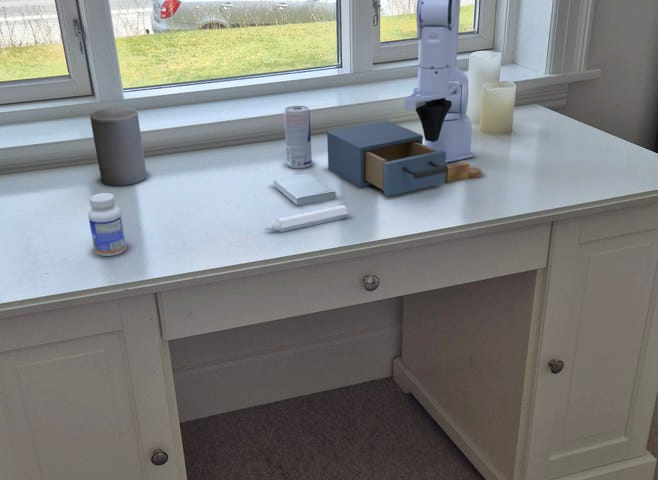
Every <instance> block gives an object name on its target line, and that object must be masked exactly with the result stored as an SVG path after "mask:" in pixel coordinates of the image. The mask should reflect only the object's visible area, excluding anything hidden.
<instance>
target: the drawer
mask: <svg viewBox="0 0 658 480" xmlns="http://www.w3.org/2000/svg"><path fill="white" fill-rule="evenodd" d="M447 165H448V164H447V163H446V151H443V150H441V151H436V150H434V149H432V148H430V147H428V146H425V144H421V143H418V142H416V141H412V142H407V143H402V144H397V145H392V146H387V147H382V148H377V149H372V150H367V151H364V180H366V181H368V182H369V183H371V184H373V185H372V186H374V187H377V188H378V189H380V190H383V195H384V196H386V197H389V196H393V195H398V194H402V193H406V192H411V191H415V190H420V189H424V188H429V187H433V186H437V185H442V184H445V183H446V182H445V173H446V172H448V167H447Z"/></svg>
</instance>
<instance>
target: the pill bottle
mask: <svg viewBox="0 0 658 480" xmlns="http://www.w3.org/2000/svg"><path fill="white" fill-rule="evenodd" d="M89 206H90V207H91V208H90V209H89V211H88V214H87V215H88V216H87V217H88V221H89V228H90V232H91V238H92V243H93V249H94V252H95V253H96V255H99V256H101V257H113V256H118V255H121V254H123V253H124V252H125V251H126V249H127V242H126V241H127V240H126V236H125V229H124V224H123V218H122V211H121V209H120V208H119V206H118V205H116V199H115V195H114V194H113V193H109V192H101V193H96V194H93V195H91V196H90V197H89Z"/></svg>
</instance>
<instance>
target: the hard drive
mask: <svg viewBox="0 0 658 480" xmlns="http://www.w3.org/2000/svg"><path fill="white" fill-rule="evenodd" d="M273 187H275V188H276V189H277V190H278V191H280V193H282V194H283V196H285V197H287V198H288V199H289V200H290V201H291V202H293V203H294V204H295V205H296V206H305V205H310V204H315V203H321V202H327V201H331V200H332V201H333V200H335V199H336V198H337V192H336V191H335V190H333V189H332V188H331V187H329V186H328V185H326V184H325V183H324V182H322V181H321V180H320V179H318V178H317V177H315V175H313V174H312V173H303V174H297V175H292V176H287V177H286V176H285V177H283V178H275V179H274V180H273Z"/></svg>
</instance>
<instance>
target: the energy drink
mask: <svg viewBox="0 0 658 480" xmlns="http://www.w3.org/2000/svg"><path fill="white" fill-rule="evenodd" d="M283 115H284V117H283V118H284V131H285V132H284V133H285V134H284V135H285V136H284V137H285V153H286V165H287V166H288V167H289V168H291V169H305V168H309V167H310V166H311V165H312V164H313V161H312V160H313V158H312V156H313V155H312V137H311V135H312V134H311V112H310V109H309V107H308V106H306V105H291V106H288V107H285V108H284V113H283Z"/></svg>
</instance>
